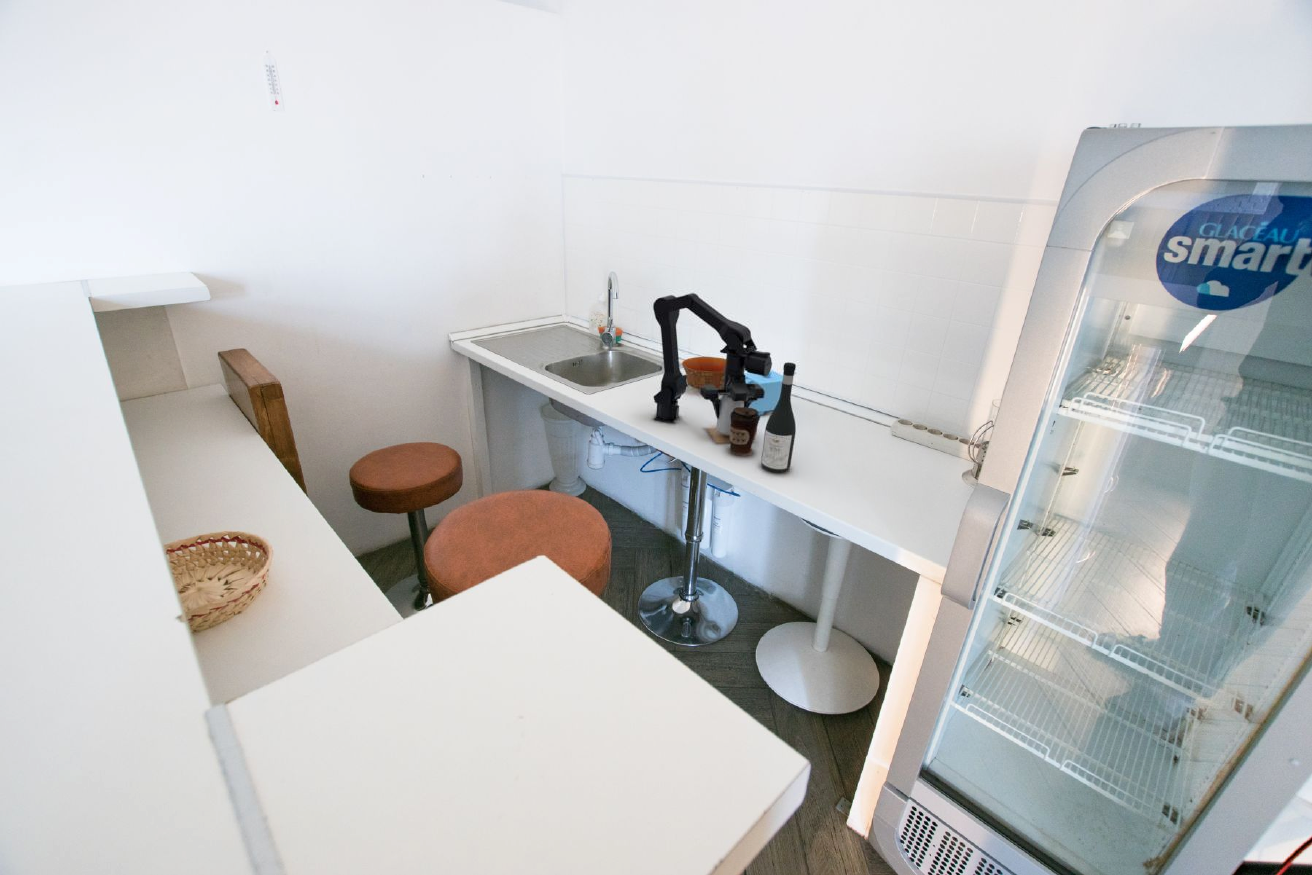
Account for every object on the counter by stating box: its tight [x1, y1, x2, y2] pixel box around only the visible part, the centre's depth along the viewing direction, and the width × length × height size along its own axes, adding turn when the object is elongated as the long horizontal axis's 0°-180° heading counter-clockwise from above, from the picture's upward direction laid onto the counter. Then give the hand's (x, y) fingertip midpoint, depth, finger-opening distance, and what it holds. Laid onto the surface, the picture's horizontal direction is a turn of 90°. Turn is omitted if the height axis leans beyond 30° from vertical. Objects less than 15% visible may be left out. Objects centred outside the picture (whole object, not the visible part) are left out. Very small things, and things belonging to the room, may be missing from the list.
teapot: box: [744, 369, 797, 416], centre depth 200 cm, size 22×11×14 cm, turn 115°
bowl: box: [681, 356, 726, 391], centre depth 217 cm, size 21×21×10 cm
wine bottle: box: [760, 361, 797, 473], centre depth 154 cm, size 8×8×30 cm
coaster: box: [706, 427, 731, 444], centre depth 179 cm, size 11×11×1 cm
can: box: [715, 395, 744, 436], centre depth 177 cm, size 8×8×12 cm
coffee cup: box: [729, 407, 761, 456], centre depth 166 cm, size 9×8×13 cm
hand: (729, 417), depth 177 cm, fingers closed on can, 7 cm apart
